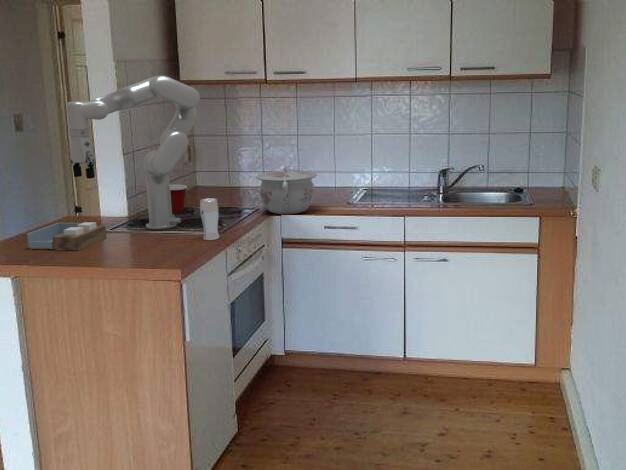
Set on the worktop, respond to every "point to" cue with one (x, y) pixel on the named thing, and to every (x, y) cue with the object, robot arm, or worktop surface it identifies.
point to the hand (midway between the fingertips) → (84, 177)
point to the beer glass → (209, 218)
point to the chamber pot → (287, 191)
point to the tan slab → (79, 239)
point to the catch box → (47, 235)
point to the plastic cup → (177, 197)
